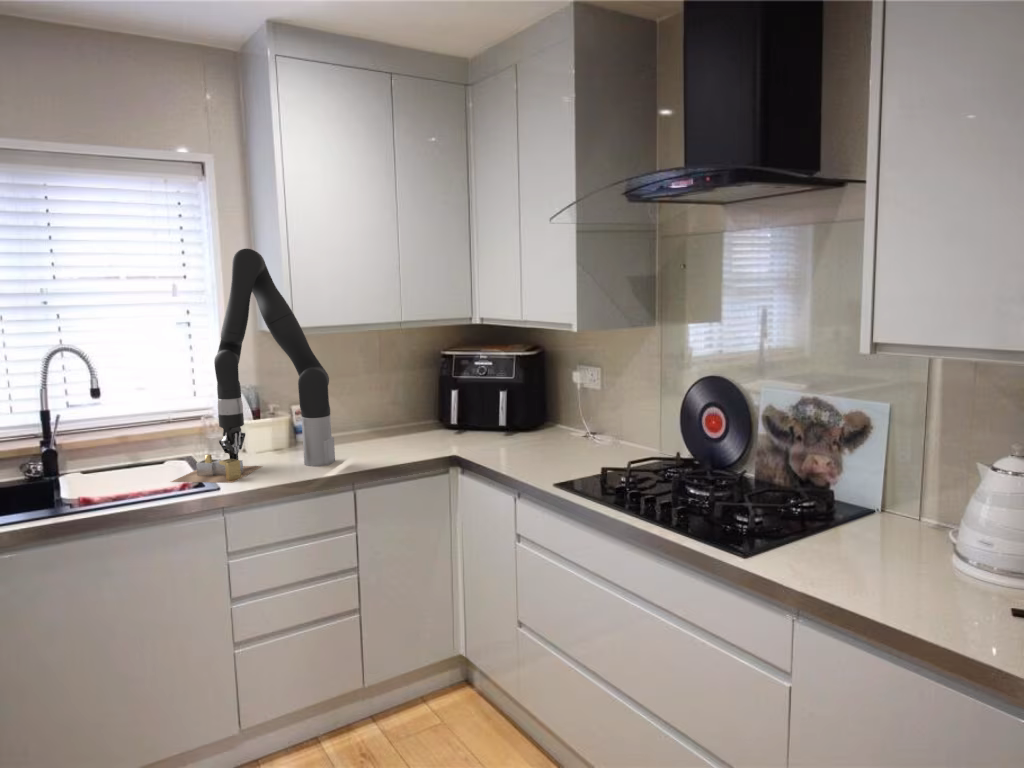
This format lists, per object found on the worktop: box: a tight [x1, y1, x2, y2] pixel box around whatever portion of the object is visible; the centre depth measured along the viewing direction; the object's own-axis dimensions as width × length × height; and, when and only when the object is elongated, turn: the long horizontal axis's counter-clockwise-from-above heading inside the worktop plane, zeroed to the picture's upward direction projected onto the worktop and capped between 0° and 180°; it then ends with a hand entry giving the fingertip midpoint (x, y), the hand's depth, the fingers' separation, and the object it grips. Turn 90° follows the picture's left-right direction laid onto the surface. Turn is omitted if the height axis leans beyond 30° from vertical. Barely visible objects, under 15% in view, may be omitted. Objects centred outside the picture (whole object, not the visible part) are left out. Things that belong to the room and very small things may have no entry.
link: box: [195, 458, 244, 476], centre depth 228 cm, size 13×5×4 cm, turn 83°
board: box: [170, 465, 264, 484], centre depth 228 cm, size 20×20×1 cm
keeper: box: [219, 457, 242, 481], centre depth 222 cm, size 5×4×6 cm
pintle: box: [204, 453, 213, 463], centre depth 228 cm, size 2×2×6 cm
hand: (234, 464), depth 234 cm, fingers closed
